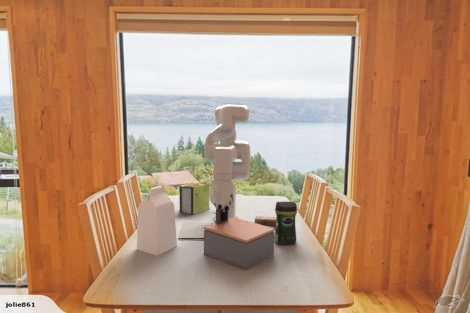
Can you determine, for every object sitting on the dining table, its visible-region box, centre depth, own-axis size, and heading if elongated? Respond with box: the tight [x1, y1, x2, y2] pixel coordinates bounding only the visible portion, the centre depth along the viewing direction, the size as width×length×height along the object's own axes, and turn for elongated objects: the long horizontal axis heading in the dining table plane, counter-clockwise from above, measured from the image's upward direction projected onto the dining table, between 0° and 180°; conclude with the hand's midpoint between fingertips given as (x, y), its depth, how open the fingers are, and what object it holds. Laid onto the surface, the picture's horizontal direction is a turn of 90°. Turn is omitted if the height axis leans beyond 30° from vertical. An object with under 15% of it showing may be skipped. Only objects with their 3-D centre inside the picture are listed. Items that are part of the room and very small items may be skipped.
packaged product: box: [254, 215, 276, 229], centre depth 179 cm, size 18×5×10 cm
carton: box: [203, 229, 275, 271], centre depth 142 cm, size 22×18×10 cm
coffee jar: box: [274, 201, 298, 245], centre depth 156 cm, size 10×8×19 cm
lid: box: [203, 208, 275, 243], centre depth 140 cm, size 22×18×7 cm
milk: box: [136, 185, 178, 256], centre depth 146 cm, size 12×12×26 cm
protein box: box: [179, 181, 211, 216], centre depth 203 cm, size 10×15×16 cm
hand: (222, 219), depth 147 cm, fingers closed
